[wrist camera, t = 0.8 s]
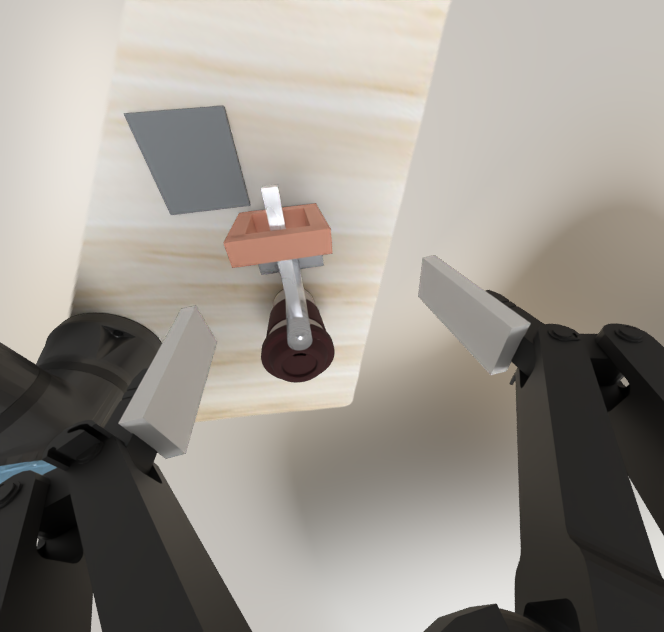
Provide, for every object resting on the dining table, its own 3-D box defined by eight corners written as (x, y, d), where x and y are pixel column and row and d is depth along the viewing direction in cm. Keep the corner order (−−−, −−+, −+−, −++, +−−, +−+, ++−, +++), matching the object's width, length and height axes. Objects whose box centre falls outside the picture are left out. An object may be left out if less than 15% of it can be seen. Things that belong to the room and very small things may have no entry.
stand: (261, 273, 38) (251, 359, 23) (232, 170, 30) (186, 203, 15) (322, 264, 39) (350, 341, 24) (311, 162, 31) (344, 184, 16)
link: (245, 232, 26) (232, 267, 19) (239, 212, 24) (223, 242, 17) (317, 222, 26) (332, 253, 19) (315, 203, 25) (330, 228, 18)
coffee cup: (300, 332, 47) (307, 397, 35) (254, 310, 42) (245, 377, 30) (331, 297, 43) (352, 356, 32) (286, 268, 39) (289, 325, 27)
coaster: (173, 213, 31) (170, 215, 31) (127, 114, 25) (123, 113, 24) (250, 204, 32) (249, 205, 32) (224, 106, 26) (222, 105, 25)
